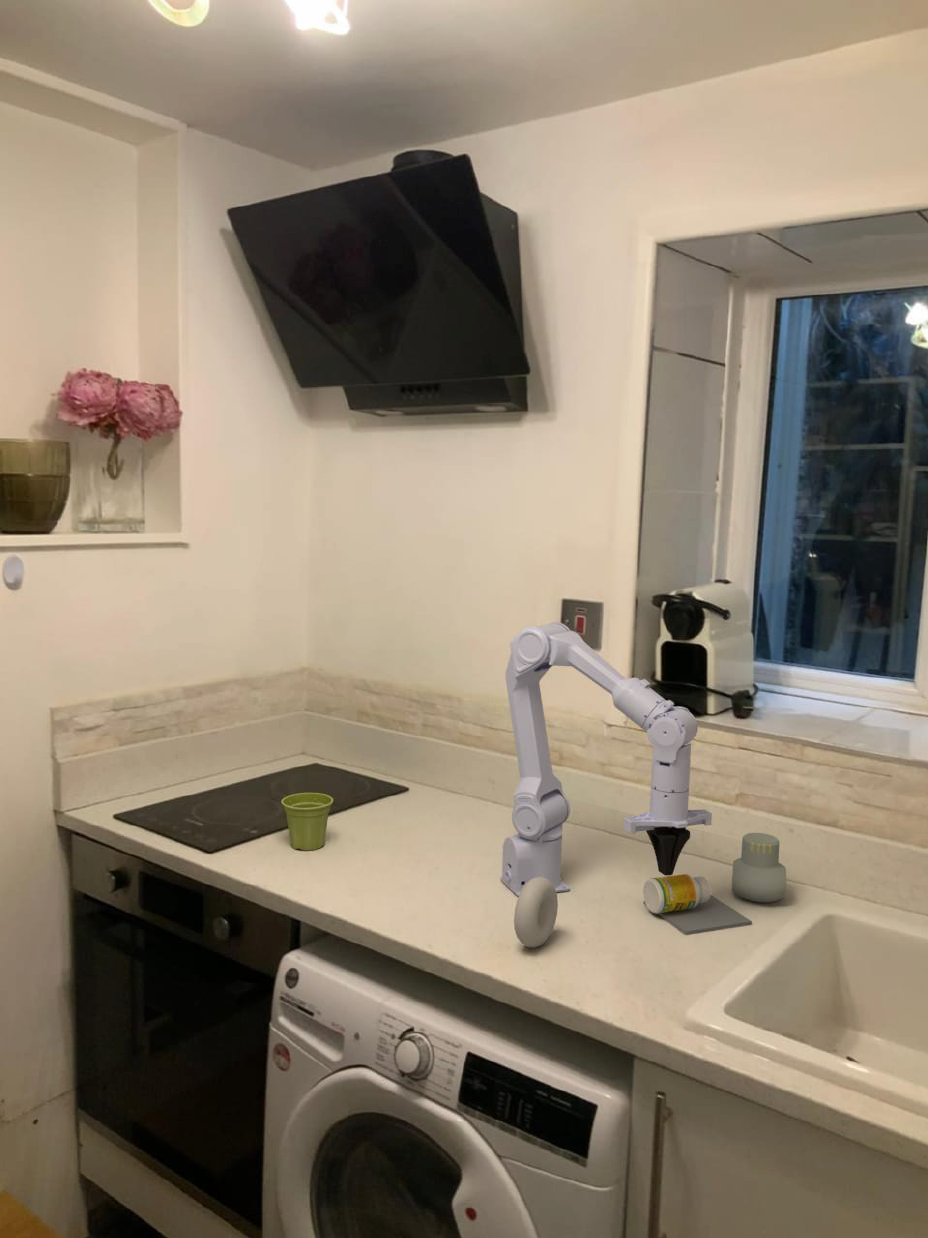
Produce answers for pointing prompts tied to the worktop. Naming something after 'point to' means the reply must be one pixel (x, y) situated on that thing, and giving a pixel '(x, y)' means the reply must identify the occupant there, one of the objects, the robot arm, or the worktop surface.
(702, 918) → the mat
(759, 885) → the air freshener
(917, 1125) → the worktop surface
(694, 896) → the supplement bottle
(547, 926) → the donut
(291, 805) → the plant pot
